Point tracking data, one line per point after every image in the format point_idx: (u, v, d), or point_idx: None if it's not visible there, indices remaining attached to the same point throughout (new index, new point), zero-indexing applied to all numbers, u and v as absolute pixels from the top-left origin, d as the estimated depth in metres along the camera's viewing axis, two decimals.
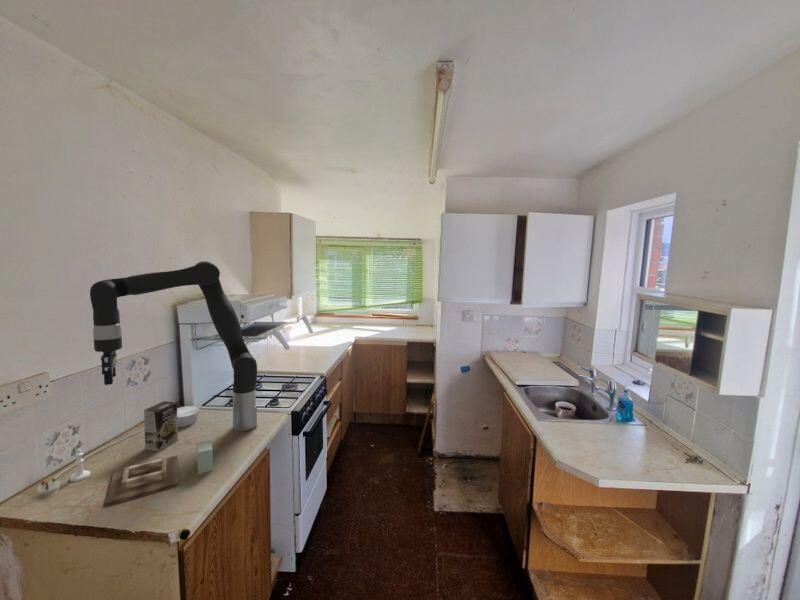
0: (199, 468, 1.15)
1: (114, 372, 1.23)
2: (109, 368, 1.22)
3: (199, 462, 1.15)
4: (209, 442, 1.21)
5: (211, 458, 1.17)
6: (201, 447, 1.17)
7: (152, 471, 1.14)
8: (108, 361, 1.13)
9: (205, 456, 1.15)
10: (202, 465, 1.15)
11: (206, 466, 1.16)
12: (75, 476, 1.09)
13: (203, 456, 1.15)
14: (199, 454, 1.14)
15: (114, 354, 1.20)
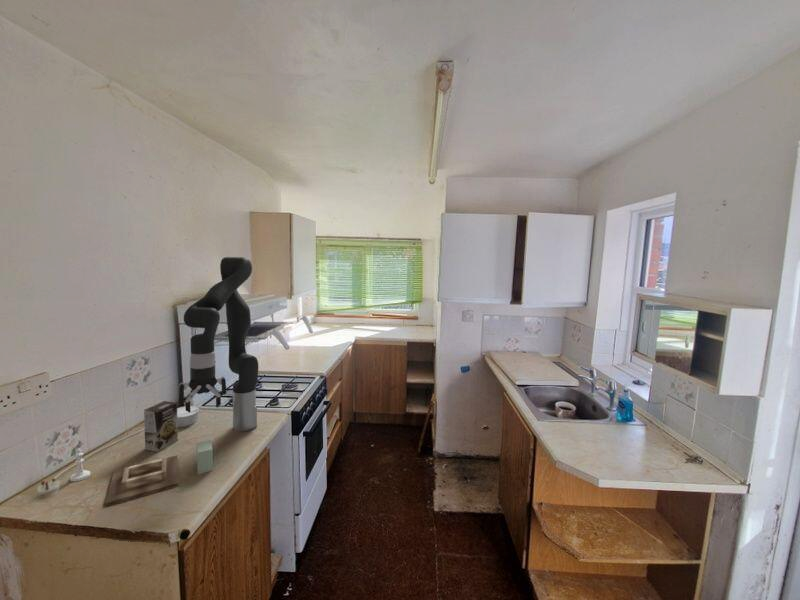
0: (199, 468, 1.15)
1: None
2: None
3: (199, 462, 1.15)
4: (209, 442, 1.21)
5: (211, 458, 1.17)
6: (201, 447, 1.17)
7: (152, 471, 1.14)
8: None
9: (205, 456, 1.15)
10: (202, 465, 1.15)
11: (206, 466, 1.16)
12: (75, 476, 1.09)
13: (203, 456, 1.15)
14: (199, 454, 1.14)
15: None
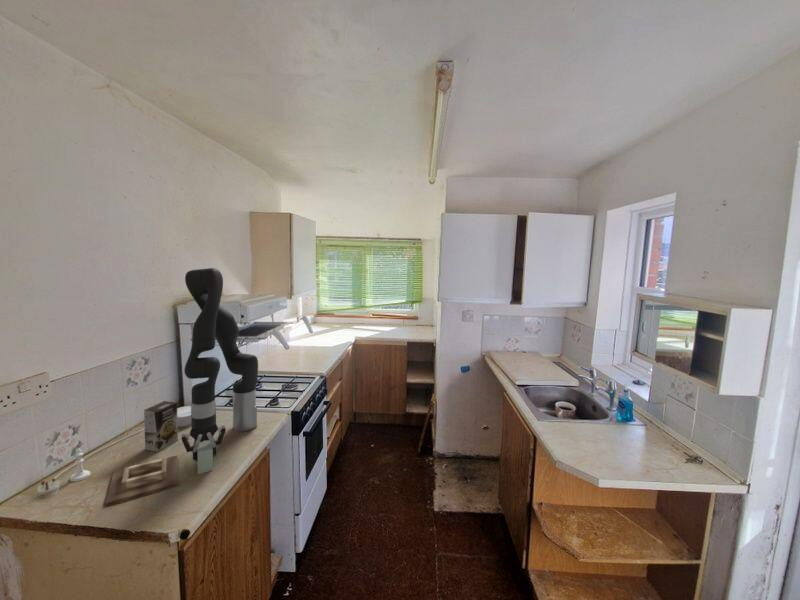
0: (199, 468, 1.15)
1: None
2: None
3: (199, 462, 1.15)
4: (209, 442, 1.21)
5: (211, 458, 1.17)
6: (201, 447, 1.17)
7: (152, 471, 1.14)
8: None
9: (205, 456, 1.16)
10: (202, 465, 1.15)
11: (206, 466, 1.16)
12: (75, 476, 1.09)
13: (203, 456, 1.15)
14: (199, 454, 1.14)
15: None
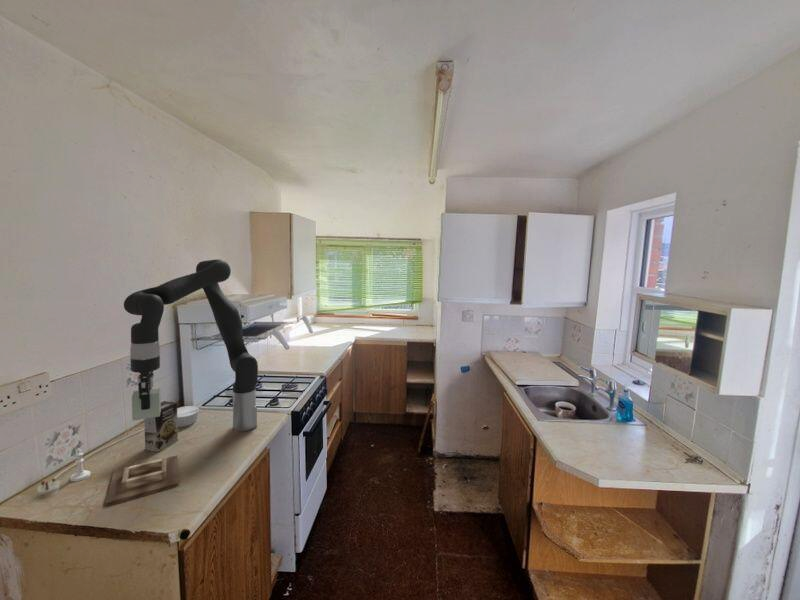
0: (159, 409, 1.09)
1: None
2: (147, 398, 1.07)
3: (159, 403, 1.09)
4: None
5: (160, 398, 1.12)
6: None
7: (152, 471, 1.14)
8: None
9: (159, 396, 1.10)
10: (159, 406, 1.10)
11: (160, 407, 1.11)
12: (75, 476, 1.09)
13: (159, 396, 1.10)
14: (159, 394, 1.09)
15: (139, 377, 1.06)
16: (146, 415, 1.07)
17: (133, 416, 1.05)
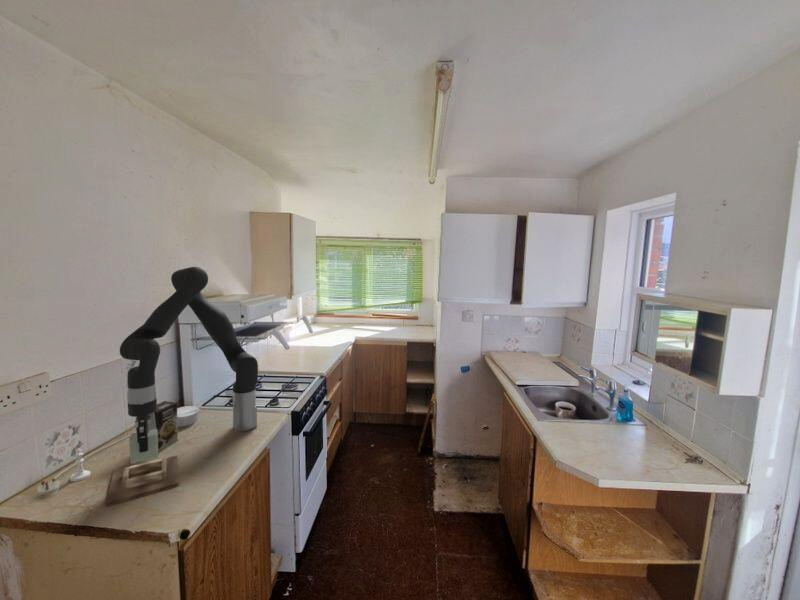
0: (157, 450, 1.11)
1: None
2: None
3: (157, 444, 1.10)
4: None
5: (157, 438, 1.13)
6: None
7: (152, 471, 1.14)
8: None
9: None
10: (157, 447, 1.11)
11: (157, 447, 1.12)
12: (75, 476, 1.09)
13: None
14: (156, 436, 1.10)
15: (137, 420, 1.07)
16: (144, 457, 1.08)
17: (131, 459, 1.07)
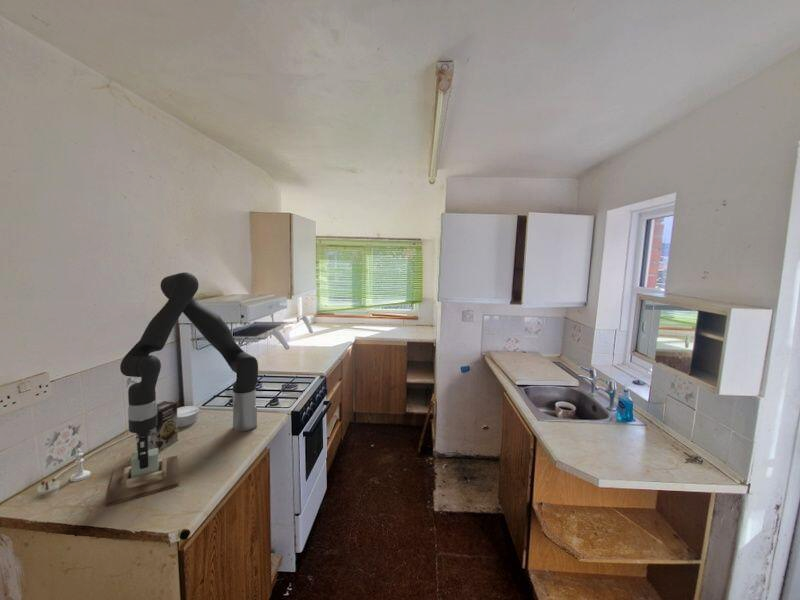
0: (158, 470, 1.11)
1: None
2: None
3: (158, 463, 1.11)
4: None
5: (158, 457, 1.14)
6: None
7: None
8: None
9: None
10: (158, 466, 1.12)
11: (158, 466, 1.13)
12: (75, 476, 1.09)
13: None
14: (157, 455, 1.11)
15: None
16: None
17: None
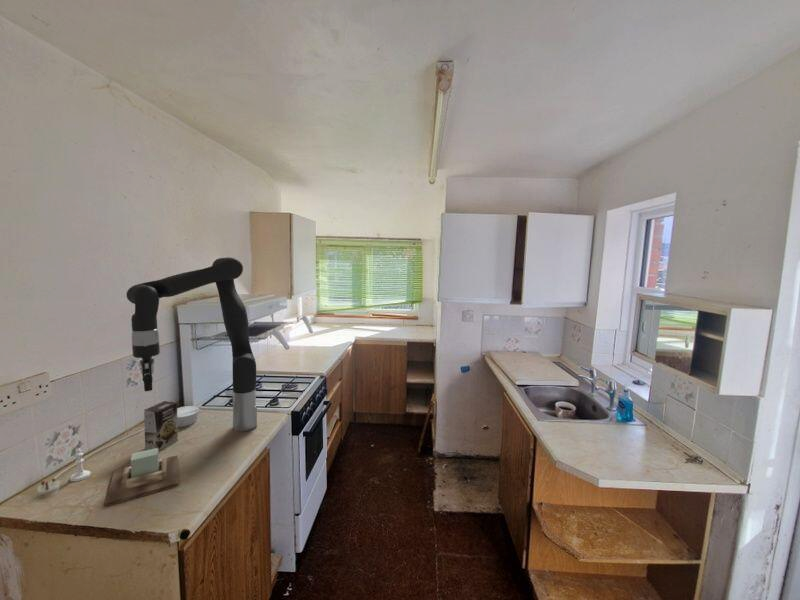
0: (158, 470, 1.11)
1: None
2: None
3: (158, 463, 1.11)
4: (138, 452, 1.11)
5: (158, 457, 1.14)
6: (147, 454, 1.10)
7: None
8: None
9: None
10: (158, 466, 1.12)
11: (158, 466, 1.13)
12: (75, 476, 1.09)
13: None
14: (157, 455, 1.11)
15: None
16: None
17: None
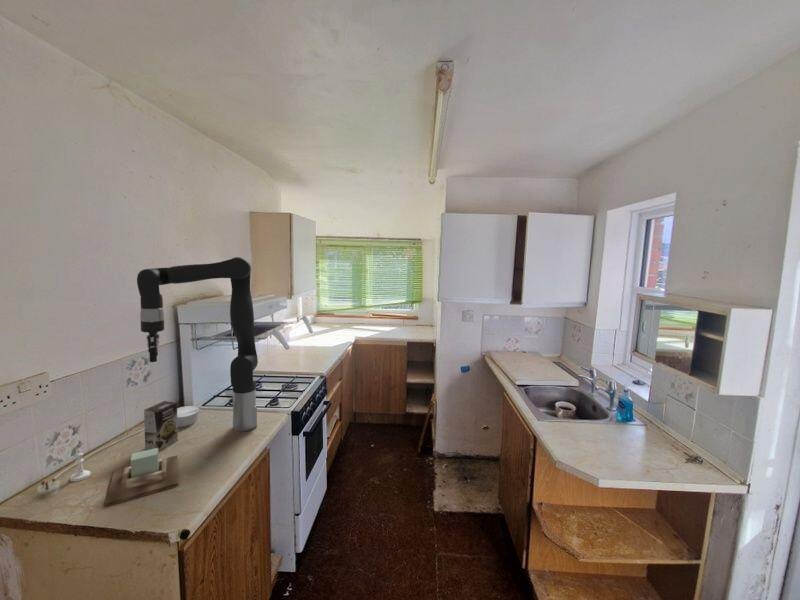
0: (158, 470, 1.11)
1: None
2: None
3: (158, 463, 1.11)
4: (138, 452, 1.11)
5: (158, 457, 1.14)
6: (147, 454, 1.10)
7: None
8: None
9: None
10: (158, 466, 1.12)
11: (158, 466, 1.13)
12: (75, 476, 1.09)
13: None
14: (157, 455, 1.11)
15: (148, 337, 1.31)
16: None
17: None
